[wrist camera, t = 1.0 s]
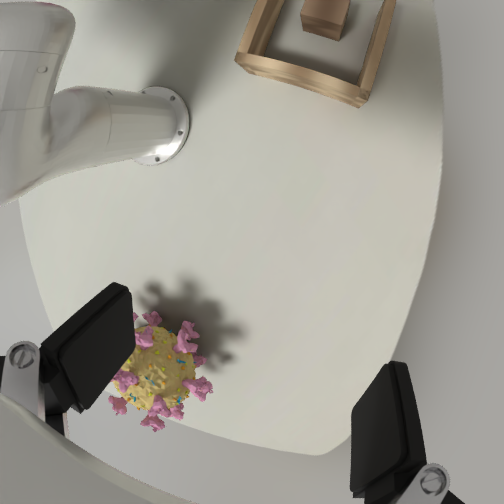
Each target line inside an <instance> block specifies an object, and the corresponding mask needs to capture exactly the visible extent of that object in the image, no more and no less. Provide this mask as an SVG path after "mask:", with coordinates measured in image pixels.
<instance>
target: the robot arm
mask: <svg viewBox="0 0 504 504" xmlns="http://www.w3.org/2000/svg"><path fill="white" fill-rule="evenodd" d="M75 24H76V22H75V18H74V16H73V14H72V13H71V12H70V11H69V10H68V9H66V8H64V7H62V6H59V5H55V4H51V3H44V2H8V3H0V207H2V206H4V205H6V204H9V203H10V202H13V201H15V200H16V199H18V198H20V197H22V196H23V195H25V194H26V193H28V192H29V191H31V190H33V189H34V188H36V187H37V186H39V185H41V184H43V183H44V182H46V181H49V180H51V179H53V178H56V177H58V176H61V175H64V174H68V173H71V172H75V171H78V170H82V169H86V168H91V167H96V166H100V165H105V164H109V163H114V162H119V161H124V160H129V159H132V160H134V161H135V162H137V163H139V164H142V165H147V166H149V165H158V164H161V163H164V162H167V161H168V160H170V159H171V158H173V157H174V156H175V155H176V154H177V153H178V152H179V150H180V149H181V148H182V146H183V144H184V142H185V140H186V138H187V134H188V130H189V114H188V109H187V107H186V104H185V102H184V101H183V99H182V98H181V97H180V96H179V95H178V94H177V93H176V92H174V91H173V90H171V89H168V88H165V87H159V86H154V87H149V88H145V89H143V90H141V91H139V92H131V91H124V90H117V89H109V88H100V87H91V86H75V87H70V88H67V89H64V90H62V91H59V92H58V93H56V94H54V91H55V88H56V84H57V81H58V78H59V75H60V72H61V69H62V66H63V63H64V60H65V58H66V55H67V52H68V50H69V47H70V44H71V41H72V39H73V35H74V32H75ZM174 99H175V100H174ZM182 131H183V134H182ZM159 158H160V159H159ZM135 347H136V339H135V330H134V319H133V307H132V295H131V293H130V292H129V289H128V287H126V286H124V285H121V284H118V283H116V282H113V283H111V284H110V285H108V286H107V287H106V288H105V289H104V290H102V291H101V292H100V293H99V294H97V295H96V296H95V297H94V298H93V299H91V300H90V301H89V302H88V303H87V304H85V305H84V306H83V307H82V308H81V309H80V310H78V311H77V312H76V313H75V314H74V315H73V316H71V317H70V318H69V319H68V320H67V321H66V322H65V323H63V324H62V325H61V326H60V327H59V328H58V329H57V330H56V331H54V332H53V333H52V334H51V335H50V336H49V337H48V338H47V339H46V340H45V341H43V342H42V343H41V347H40V348H39V349H38V347H37V346H36V345H35V344H34V343H32V342H29V341H21V342H18V343H16V344H14V345H12V346H11V347H10V348H9V350H8V351H7V354H6V356H0V504H197V503H194V502H191V501H188V500H185V499H182V498H179V497H177V496H174V495H172V494H169V493H167V492H164V491H162V490H159V489H157V488H155V487H152V486H150V485H148V484H146V483H143V482H141V481H139V480H137V479H135V478H133V477H131V476H129V475H127V474H125V473H123V472H121V471H119V470H117V469H116V468H114V467H112V466H110V465H108V464H106V463H105V462H103V461H101V460H100V459H98V458H96V457H95V456H93V455H91V454H90V453H88V452H87V451H85V450H83V449H82V448H80V447H79V446H77V445H76V444H74V443H73V442H71V441H70V438H69V430H68V421H67V410H68V409H69V408H70V407H71V408H73V409H74V410H76V411H77V412H79V413H80V414H81V413H82V412H83V411H84V409H86V410H87V409H89V408H90V407H91V405H92V404H93V403H94V402H95V400H96V399H97V398H98V396H99V395H100V394H101V393H102V391H103V390H104V389H105V387H106V386H107V385H108V384H109V382H110V381H111V380H112V378H113V377H114V376H115V375H116V373H117V372H118V371H119V370H120V368H121V367H122V366H123V364H124V363H125V362H126V361H127V359H128V358H129V357H130V356H131V354H132V353H133V352H134V350H135ZM449 486H450V478H449V474H448V472H447V470H446V469H445V468H444V467H443V466H441V465H439V464H436V463H431V464H427V461H426V453H425V447H424V441H423V435H422V429H421V423H420V419H419V414H418V409H417V404H416V399H415V395H414V391H413V386H412V383H411V379H410V375H409V371H408V367H407V364H406V363H403V362H397V361H390V362H389V363H388V364H384V365H383V367H382V368H381V370H380V371H379V373H378V374H377V376H376V377H375V379H374V380H373V381H372V383H371V384H370V386H369V387H368V388H367V390H366V391H365V393H364V394H363V395H362V397H361V398H360V399H359V401H358V402H357V403H356V405H355V406H354V407H353V410H352V414H351V474H350V490H351V491H352V492H353V498H365V501H364V504H465V503H463V502H462V501H461V500H460V499H458V498H457V497H456V496H455V495H454V494H453V493H451V492H450V491H449V490H448V489H449Z"/></svg>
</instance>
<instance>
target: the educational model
mask: <svg viewBox="0 0 504 504" xmlns="http://www.w3.org/2000/svg"><path fill="white" fill-rule="evenodd" d="M142 316H143V318H144V319H145V320H147V322H148V323H149V325H148V326H146V327H139V328H136V329H134V330H135V339H136V347H135V350H134V352H133V353H132V354H131V356H130V357H129V358H128V359H127V361H126V362H125V363H124V364H123V366H122V367H121V368H120V370H119V371H118V372H117V373H116V375H115V376H114V377H113V378H112V380H111V381H112V382H113V383H114V384H115V387H116V389H117V391H118V392H119V393H120V394H121V395H122V397H121V398H117V397H113V396H110V397H109V403H112V404H113V407H112V409H113V410H114V411H116V412H118V413H120V414H122V415H123V414H125V413H126V412H127V409H126V406H125V405H126V404H127V402H129V403H131V404H132V405H134V406H136V407H137V409H138V410H140V408H142V409H144V410H146V409H147V410H148V415H147V416H146V418H145V419H144V420H143V421H141V425H142V426H152V427H153V428H154V429H153V431H154V432H156V431H157V430H160V429H163V428H164V427H165V425H164V422H163V421H162V420H160V419H159V418H158V416H157V414H161V415H162V416H165V417H175V418H176V419H179V420H180V419H183V414H184V412H182V411H181V410H182V409H183V407H184V406H183V403H181V402H182V401H184V400H185V397H186V398H188V397H189V396H188V394H189V392H190V391H191V392H192V393H193V394H194V396H195V397H198V398H199V400H200V401H202V402H203V401H205V399H206V394H207V393H208V392H209V393H213V391H212V390H211V389H213V388H212V384H211V383H210V382H209V381H207V379H205V377H203V376H202V377H201V378H199V379H196V380H195V375H196V373H195V371H194V370H195V368H197V367H199V366H200V365H202V364H205V362H206V361H207V359H206V358H205V357H203V356H202V354H201V356H197V354H196V353H197V352H196V350H197V347H198V345H196V344H194V343H189V342H187V340H191V339H190V338H194V339H195V338H199V337H200V336H199V334H198V333H197V332H195V331H193V328H192V327H194V325H195V323H192V325H191V322H189V321H183V323H182V327H181V329H180V331H179V333H178V337H177V336H176V335H175V334H174V333H172V332H171V331H172V330H170V331H167V329H165V327H164V328H163V327H157V326H158V324H159V323H161V321H162V318H161V317H160V316H159V315H158V312H155V311H153V312H152V313H151V314H150V315H149V314H147V313H145V314H142ZM137 317H138V316H137V315H136V313H133V319H134V321H135V320H136V319H137ZM190 325H191V326H190ZM111 381H110V382H111ZM210 390H211V392H210ZM118 413H116V414H118ZM180 421H181V420H180Z"/></svg>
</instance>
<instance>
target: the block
mask: <svg viewBox="0 0 504 504" xmlns="http://www.w3.org/2000/svg"><path fill="white" fill-rule="evenodd" d="M349 5H350V0H305V2H304V5H303V8H302V10H301V13H300V15H301V21H302V26H303V31H306V32H309V33H313V34H316V35H320V36H323V37H326V38H330V39H333V40H336V41H339V40H340V36H341V33H342V30H343V27H344V24H345V21H346V18H347V15H348V10H349Z"/></svg>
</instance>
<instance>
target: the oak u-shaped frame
mask: <svg viewBox="0 0 504 504" xmlns="http://www.w3.org/2000/svg"><path fill="white" fill-rule="evenodd" d="M283 3H284V0H257V2H256V4H255V7H254V9H253V11H252V14H251V16H250V19H249V21H248V24H247V27H246V29H245V32H244V34H243V37H242V40H241V42H240V45H239V48H238V51H237V53H236V56H235V59H234V61H235V62H237V63H238V64H239V65H240V66H241V67H242V68H243V69H244V70H246V71H247V72H248V73H250V74H254V75H258V76H262V77H266V78H270V79H274V80H278V81H281V82H285V83H288V84H292V85H295V86H298V87H302V88H305V89H308V90H311V91H314V92H317V93H320V94H323V95H325V96H328V97H331V98H334V99H336V100H339V101H342V102H344V103H347V104H349V105H352V106H354V107H357V108H359V107H361V106H362V105H363V104H364V103H366V102H367V101H368V98H369V95H370V92H371V89H372V86H373V82H374V79H375V76H376V73H377V69H378V66H379V63H380V59H381V56H382V53H383V49H384V46H385V42H386V38H387V35H388V31H389V27H390V24H391V20H392V16H393V12H394V8H395V4H396V0H384V2H383V4H382V6H381V8H380V11H379V13H378V16H377V19H376V23H375V27H374V30H373V33H372V37H371V40H370V44H369V47H368V50H367V53H366V57H365V60H364V63H363V66H362V70H361V73H360V76H359V79H358V82H357V85H353V84H351V83H348V82H345V81H343V80H340V79H337V78H335V77H332V76H329V75H326V74H323V73H320V72H317V71H314V70H311V69H307V68H304V67H301V66H297V65H294V64H290V63H287V62H283V61H279V60H275V59H271V58H266V57H263V56H264V53H265V51H266V48H267V45H268V42H269V40H270V37H271V34H272V31H273V29H274V26H275V23H276V21H277V18H278V16H279V13H280V10H281V8H282V5H283Z"/></svg>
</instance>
